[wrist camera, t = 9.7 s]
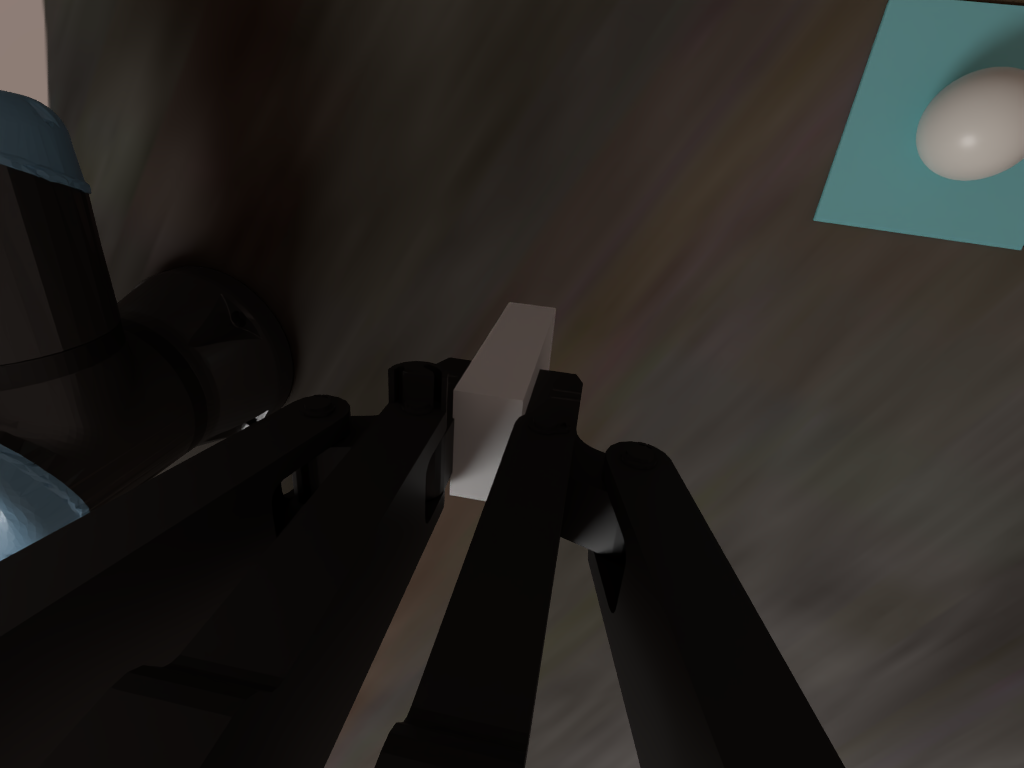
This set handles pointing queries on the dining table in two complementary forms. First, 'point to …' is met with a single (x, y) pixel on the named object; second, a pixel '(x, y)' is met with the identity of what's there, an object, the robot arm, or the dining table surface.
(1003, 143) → the ball
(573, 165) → the dining table surface
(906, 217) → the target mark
